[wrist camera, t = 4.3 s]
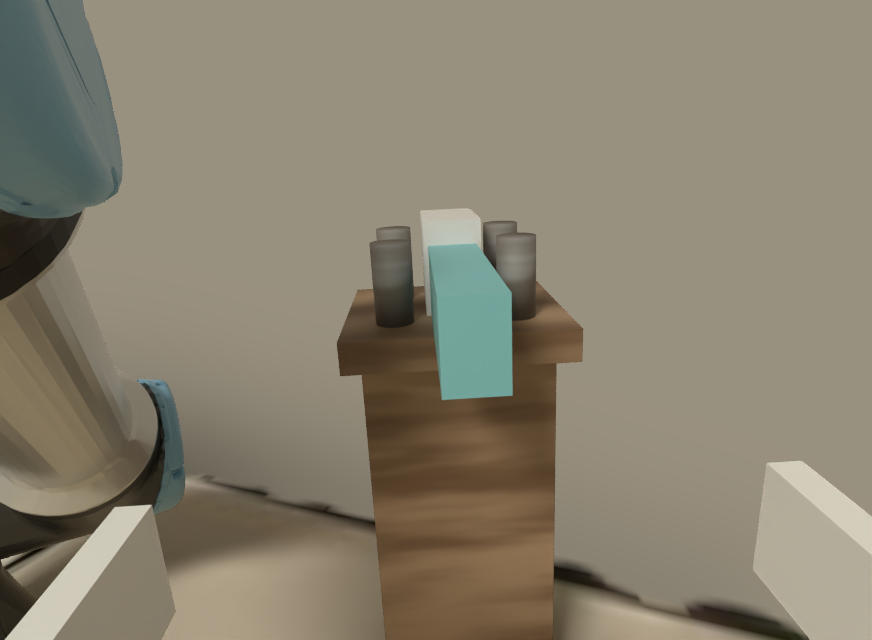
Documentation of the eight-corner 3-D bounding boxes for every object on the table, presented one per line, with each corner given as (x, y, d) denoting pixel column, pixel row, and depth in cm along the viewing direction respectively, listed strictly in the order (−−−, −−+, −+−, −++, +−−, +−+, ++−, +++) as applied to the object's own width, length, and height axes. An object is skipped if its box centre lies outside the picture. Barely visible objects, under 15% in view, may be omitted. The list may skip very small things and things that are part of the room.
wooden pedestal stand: (572, 726, 41) (585, 241, 31) (377, 741, 40) (327, 255, 31) (534, 592, 53) (535, 216, 43) (385, 602, 53) (352, 225, 43)
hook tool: (519, 395, 24) (518, 255, 22) (435, 400, 24) (427, 260, 22) (471, 287, 43) (469, 208, 42) (424, 290, 43) (420, 210, 41)
